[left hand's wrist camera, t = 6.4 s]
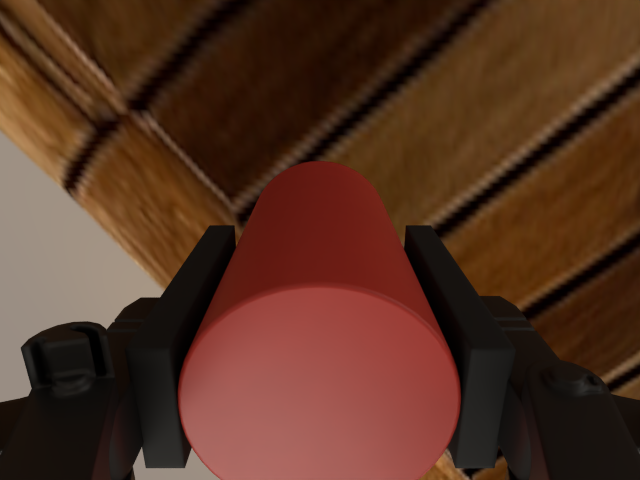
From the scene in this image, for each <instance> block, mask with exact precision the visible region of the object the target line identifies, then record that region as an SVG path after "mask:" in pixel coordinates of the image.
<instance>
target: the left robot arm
mask: <svg viewBox="0 0 640 480" xmlns="http://www.w3.org/2000/svg"><path fill="white" fill-rule="evenodd" d="M235 249H236V241H235V227H234V226H209V227H208V229H207V230H206V232H205V233H204V235H203V236H202V238H201V239H200V240H199V242H198V243H197V245H196V246H195V248H194V249H193V251H192V252H191V253H190V255H189V256H188V258H187V259H186V261H185V262H184V264H183V265H182V267H181V268H180V269H179V271H178V272H177V274H176V275H175V277H174V278H173V280H172V281H171V283H170V284H169V285H168V287H167V288H166V290H165V291H164V293H163V294H162V296H161V297H160V298H139V299H138V300H136V301H135V302H133V303H131V304H130V305H128V306H127V307H125V308H124V309H123V310H122V311H121V313H120V314H119V315H118V316H117V318H116V319H115V322H113V323H112V324H111V325H110V326H109V327H108V329H107V331H106V328H104V327H103V326H102V325H100V324H98V323H93V322H88V321H87V322H71V323H66V324H61V325H57V326H54V327H52V328H49V329H46V330H44V331H41V332H40V333H38V334H36V335H35V336H33V337H31V338H30V339H28V341H27V342H26V343H25V344H24V345H23V346H22V347H21V351H22V354H23V358H24V361H25V365H26V369H27V373H28V376H29V380H30V384H31V387H32V389H31V392H30V394H29V396H27V397H24V398H20V399H15V400H10V401H5V402H0V480H135V476H134V471H133V464H134V462H135V460H136V458H137V456H138V454H139V452H140V449H141V447H142V449H143V455H144V460H145V466H146V468H185V466H186V463H187V460H188V457H189V454H190V451H191V448H192V447H191V445H190V443H189V441H188V439H187V437H186V435H185V432H184V429H183V427H182V424H181V420H180V414H179V409H178V394H177V389H178V382H179V375H180V372H181V368H182V365H183V362H184V359H185V357H186V355H187V353H188V350H189V348H190V346H191V344H192V342H193V340H194V337H195V335H196V333H197V331H198V329H199V327H200V324H201V322H202V320H203V318H204V316H205V314H206V311H207V309H208V307H209V305H210V303H211V301H212V298H213V296H214V294H215V292H216V290H217V288H218V285H219V283H220V281H221V279H222V277H223V275H224V272H225V270H226V268H227V266H228V264H229V262H230V259H231V257H232V255H233V253H234V251H235ZM404 251H405V253H406V255H407V257H408V259H409V262H410V264H411V266H412V268H413V270H414V272H415V275H416V277H417V279H418V281H419V283H420V286H421V288H422V290H423V292H424V294H425V297H426V299H427V301H428V303H429V305H430V307H431V310H432V312H433V314H434V316H435V318H436V321H437V323H438V325H439V327H440V329H441V332H442V334H443V336H444V338H445V340H446V342H447V345H448V347H449V349H450V351H451V354H452V356H453V358H454V361H455V363H456V365H457V369H458V373H459V377H460V384H461V407H460V414H459V418H458V422H457V426H456V429H455V431H454V434H453V436H452V439H451V441H450V443H449V444H448V447H449V450H450V453H451V456H452V459H453V462H454V465H455V468H495V462H496V456H497V451H498V445H499V446H500V449H501V451H502V453H503V455H504V457H505V459H506V461H507V463H508V465H507V471H506V476H505V480H640V400H636V399H631V398H626V397H621V396H617V395H613V394H611V393H610V391H609V389H608V387H607V386H606V385H605V383H604V382H603V381H602V380H601V378H599V377H598V376H596V375H595V374H594V373H592V372H591V371H589V370H588V369H585V368H583V367H581V366H578V365H576V364H574V363H570V362H566V361H562V360H560V359H559V358H558V357H557V356H556V355H555V353H554V352H553V351H552V350H551V348H550V347H549V346H548V345H547V343H546V342H545V341H544V340H543V339H542V337H541V336H540V335H539V334H538V332H537V331H534V327H533V326H532V325H531V324H530V323H529V321H526V318H525V316H524V315H523V314H522V313H521V312H520V310H519V309H518V308H517V307H516V306H515V305H513V304H512V303H510V302H508V301H507V300H505V299H504V298H502V297H500V296H479V295H478V294H477V292H476V291H475V289H474V288H473V286H472V285H471V283H470V282H469V281H468V279H467V278H466V276H465V275H464V273H463V272H462V270H461V269H460V268H459V266H458V265H457V263H456V262H455V260H454V259H453V257H452V256H451V254H450V253H449V252H448V250H447V249H446V247H445V246H444V244H443V243H442V241H441V240H440V239H439V237H438V236H437V234H436V233H435V231H434V230H433V228H432V227H431V226H406V232H405V246H404Z"/></svg>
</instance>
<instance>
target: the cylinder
mask: <svg viewBox="0 0 640 480" xmlns="http://www.w3.org/2000/svg"><path fill="white" fill-rule="evenodd" d="M177 394H178V409H179V414H180V420H181V424H182V427H183V429H184V432H185V435H186V437H187V439H188V441H189V443H190V445H191V447H192V448H193V450H194V452H195V453H196V454H197V456H198V457H199V458H200V460H201V461H202V462H203V463H204V464H205V465H206V466H207V468H208V469H209V470H210V471H211V472H212V473H213V474H215V475H216V476H217V477H218V478H220V479H221V480H418V479H419V478H421V477H422V476H423V475H424V474H425V473H426V472H427V471H428V470H429V469H430V468H431V467H433V465H434V464H435V463H436V462H437V460H438V459H439V458H440V457H441V456H442V454H443V453H444V451H445V449H446V448H447V446H448V444H449V443H450V441H451V439H452V436H453V434H454V431H455V429H456V426H457V422H458V418H459V414H460V407H461V384H460V377H459V373H458V369H457V365H456V363H455V361H454V358H453V356H452V354H451V351H450V349H449V347H448V345H447V342H446V340H445V338H444V336H443V334H442V332H441V329H440V327H439V325H438V323H437V321H436V318H435V316H434V314H433V312H432V310H431V307H430V305H429V303H428V301H427V299H426V297H425V294H424V292H423V290H422V288H421V286H420V283H419V281H418V279H417V277H416V275H415V272H414V270H413V268H412V266H411V264H410V262H409V259H408V257H407V255H406V253H405V251H404V248H403V246H402V244H401V242H400V240H399V237H398V235H397V233H396V231H395V229H394V227H393V224H392V222H391V220H390V218H389V216H388V213H387V211H386V209H385V207H384V205H383V202H382V200H381V198H380V196H379V194H378V193H377V191H376V190H375V188H374V187H373V186H372V185H371V183H370V182H369V181H368V180H367V179H366V178H364V177H363V176H362V175H361V174H359V173H358V172H356V171H355V170H353V169H351V168H349V167H346V166H344V165H341V164H337V163H333V162H325V161H313V162H307V163H302V164H299V165H295V166H293V167H291V168H289V169H286V170H285V171H283V172H282V173H280V174H278V175H277V176H276V177H275V178H274V179H273V180H271V182H270V183H269V184H268V185H267V186H266V187H265V189H264V190H263V192H262V193H261V195H260V197H259V199H258V201H257V203H256V205H255V208H254V210H253V212H252V214H251V216H250V218H249V221H248V223H247V225H246V227H245V229H244V231H243V233H242V236H241V238H240V240H239V242H238V244H237V246H236V249H235V251H234V253H233V255H232V257H231V259H230V262H229V264H228V266H227V268H226V270H225V272H224V275H223V277H222V279H221V281H220V283H219V285H218V288H217V290H216V292H215V294H214V296H213V298H212V301H211V303H210V305H209V307H208V309H207V311H206V314H205V316H204V318H203V320H202V322H201V324H200V327H199V329H198V331H197V333H196V335H195V337H194V340H193V342H192V344H191V346H190V348H189V350H188V353H187V355H186V357H185V359H184V362H183V365H182V368H181V372H180V375H179V382H178V389H177Z"/></svg>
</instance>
